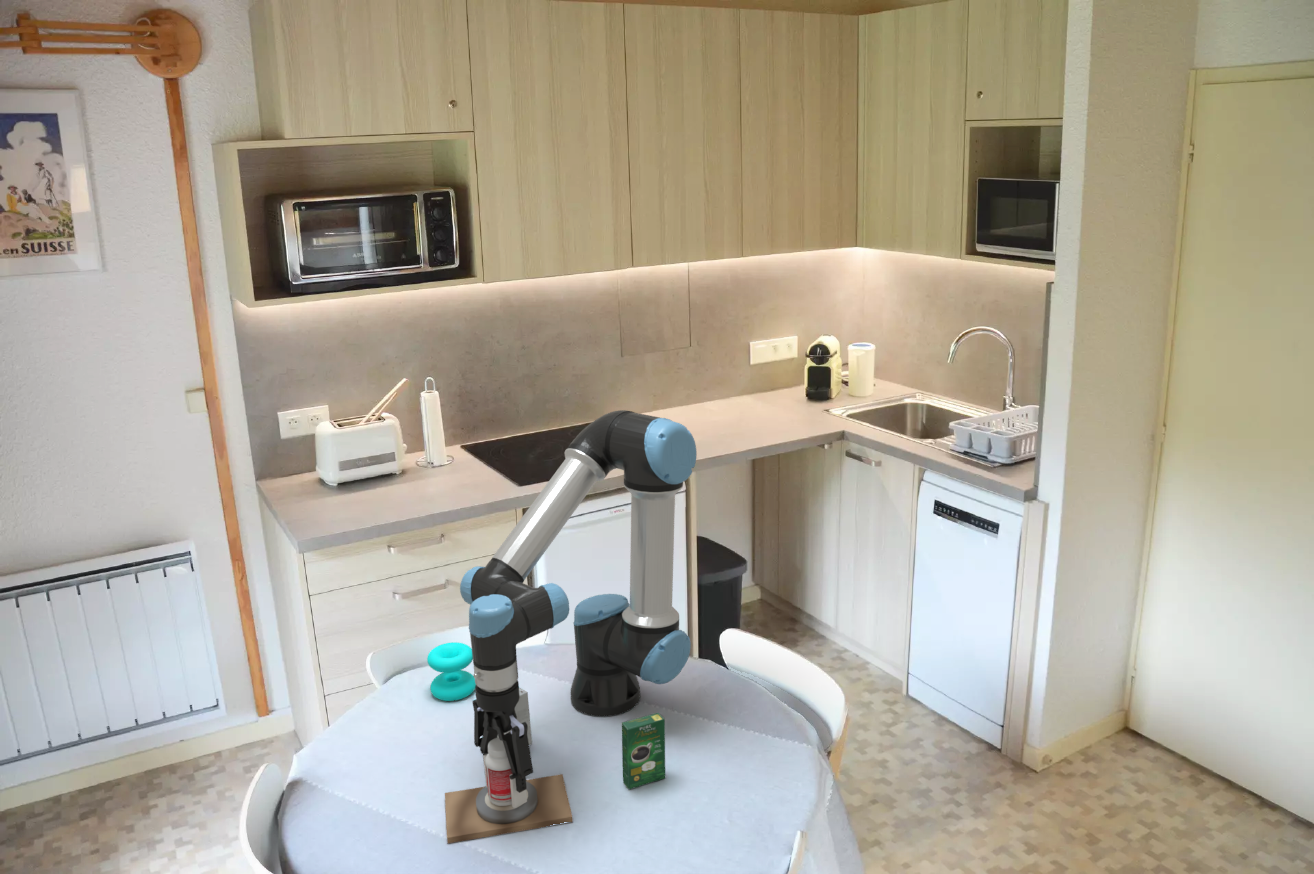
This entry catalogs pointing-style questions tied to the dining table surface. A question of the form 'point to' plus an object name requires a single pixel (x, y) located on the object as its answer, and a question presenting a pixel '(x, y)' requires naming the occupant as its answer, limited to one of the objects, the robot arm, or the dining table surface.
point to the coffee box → (643, 750)
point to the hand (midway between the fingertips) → (506, 793)
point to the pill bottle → (498, 774)
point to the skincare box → (523, 712)
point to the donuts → (451, 671)
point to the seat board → (480, 828)
